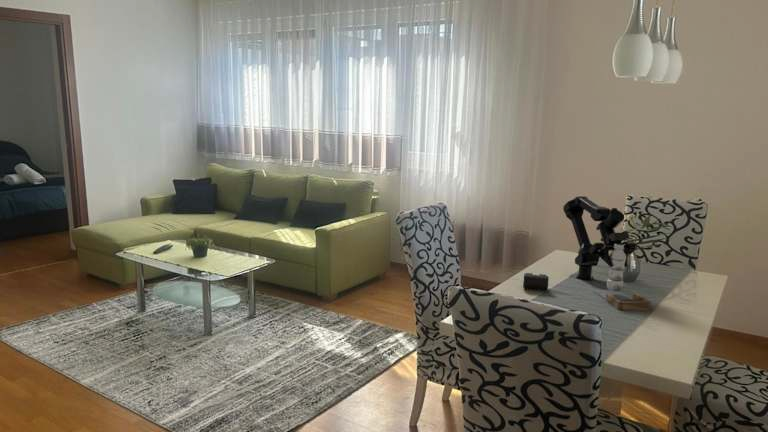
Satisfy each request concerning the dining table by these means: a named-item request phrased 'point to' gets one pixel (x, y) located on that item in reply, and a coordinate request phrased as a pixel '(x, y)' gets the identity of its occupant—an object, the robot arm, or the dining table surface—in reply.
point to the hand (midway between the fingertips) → (618, 266)
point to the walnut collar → (630, 303)
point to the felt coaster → (613, 294)
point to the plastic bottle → (616, 268)
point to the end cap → (535, 282)
